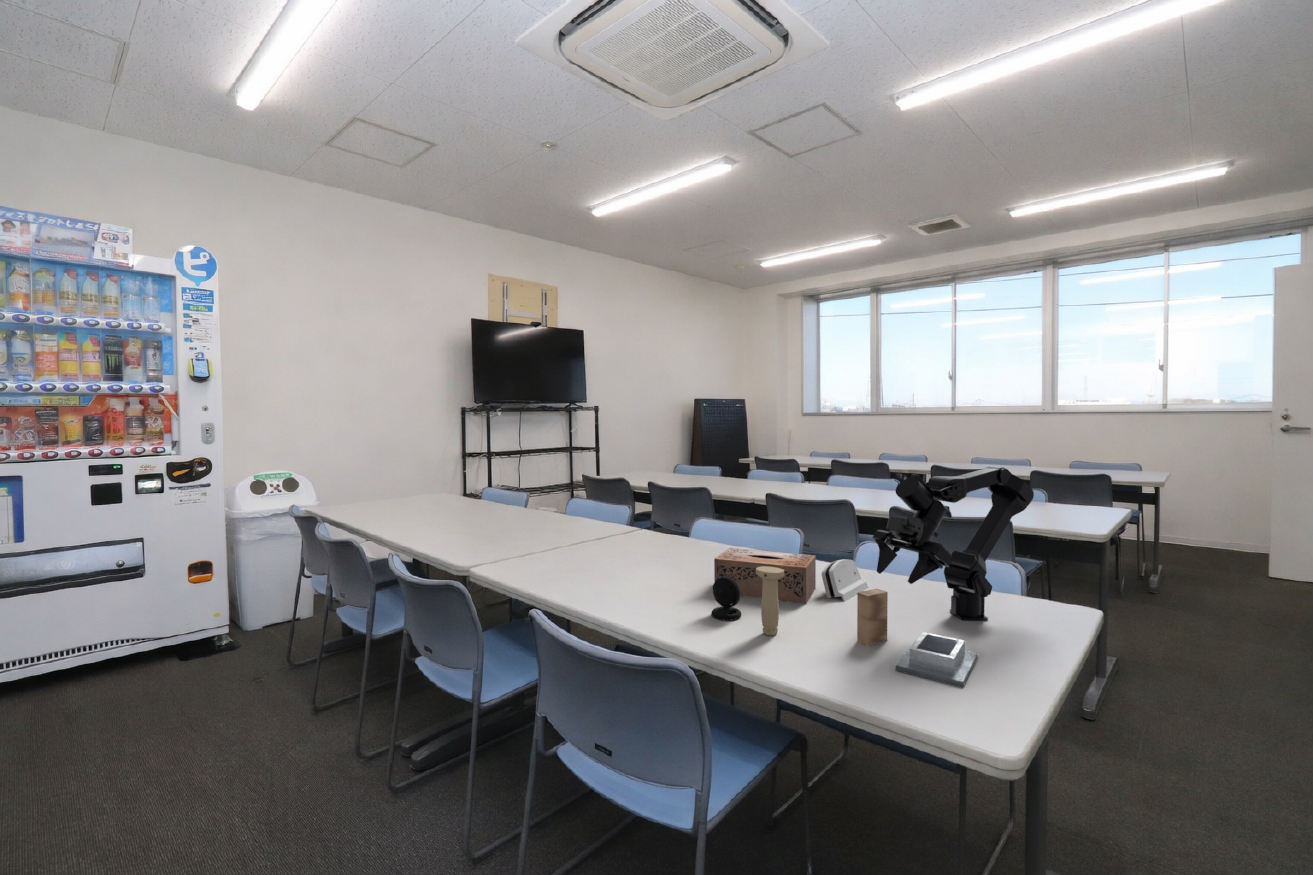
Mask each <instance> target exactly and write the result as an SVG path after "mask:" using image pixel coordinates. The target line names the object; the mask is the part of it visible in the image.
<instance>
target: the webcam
mask: <svg viewBox="0 0 1313 875" xmlns="http://www.w3.org/2000/svg"><path fill="white" fill-rule="evenodd" d="M712 594H713V597H714V599H715V601H716V602H717V603H718V605H720V606H718V607H714V608H713V609H712V610H711V616H712V618H714V619H716V620H720V621H727V622H728V621H735V620H739V619H740V618H741V617H742V612H741V610H740V609H738V608H736V607H734V606H736V605H737V604H738V603H739V601H740V599H741V596H740V589H739V586H738V584H737V583H736V582H735V580H733V579H732V578H730V577H727V576H723V577H719V578H718V579H717V580H716V581H715V580H714V582H713V585H712ZM729 613H731V614H729Z"/></svg>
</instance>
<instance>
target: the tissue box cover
mask: <svg viewBox="0 0 1313 875" xmlns="http://www.w3.org/2000/svg"><path fill="white" fill-rule="evenodd" d="M816 559H817V556H816V555H815V554H814V555H811V554H803V553H791V552H780V551H768V550H758V549H757V550H756V549H747V548H735V547H729V548H728V549H726V550H724V551H723V552H722V553H720V554H719V555H718V556H716V557H715V558H714V559H713V560H714V564H713V565H714V566H713V567H714V571H713V572H714V577H713V578H714V582H715V581H716V580H717V579H718V578H719V577H723V576H727V577H730V578H732V579H733V580H735V582H736V583H737V584H738V586H739V589H740V597H749V598H758V599H762V588H763V581H762V578H761V577H759V576H758V575H757V574H756V568H757V567H761V566H767V567H776V568H780V569H783V570H784V576H783V577H782V578H780V579H778V583H777V587H778V602H779V601H780V602H787V601H789V603H794V604H795V603H797V604H803V605H804V604H806V605H807V603H808V602H809V600H810V599H811V597H812V595H813V594H814V593H815V591H814V590H816V583H817V582H816V580H817V579H816V576H817V575H816V572H817V571H816V570H817V569H816Z"/></svg>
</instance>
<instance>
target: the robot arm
mask: <svg viewBox="0 0 1313 875" xmlns="http://www.w3.org/2000/svg"><path fill="white" fill-rule="evenodd" d="M985 488H987V489H988V490H989V491H990V493H991V496H990V497H991V504H992V506H991V508H990V510H989V511H988V513H987V514H986V516H985V518H984V520H982V522H981V523H980V525H979V527H978V529H977V530H976V532H975V533H974V535H973V536H972V539H971V540H970V542H969V543H968V545H967V546H966V548H965V549H964V550H963V551H958V550H954V551H952V553H951V552H949V550H948V549H947V548H946V547H945V546H944V545H943V544H942V543H938V542H934V541H932V538H934V539H936V538H938V536H939V534H938V533H937V529H938V528H939V526H940V524H941V523H942V520H943V519H944V518H946V519H952V518H953V515H952V512H951V509H950V506H948V505H945V504H943V503H942V502H946V503H953V504H955V503H958V502H959V501H961V500H963V499H965V498H966V497H967V494H969V493H970V492H974V491H977V490H981V489H985ZM895 494H896V496H897V497H898V498H899V499H900V500H901V501H903V503H904V504H905V505H906V506H907V507H908V509H910V510H911V511H913V512H915V513H914V515H913V516H908V517H907V518H902V517H897V516H893V515H889V516H888V520H887V523H886V524H887V525H886V530H884V529H878V530H875V532H874V534H873V536H872V539H873V540H874V542H875V544H877V546H878V549H879V550H878V559H877V565H876V572H877V573H878V574H879V575H881V574H882V573H883V572H884V571H885V570H886V569H887V568H888V567H889V565H891V563H892V562H893V561H894V560H895V558H896V557H898V554H897V553H898V552H900V550H901V549H902V550H906V551H911V552H915V553H918V554H917V556H918V559H917V562H916V563H915V565H914V567H913V569H912V570H911V573H910V575H909V577H908V578H907V579H908V580H907V582H908V584H910V585H912V584H914V583H916V582H917V581H919V580H921V579H923V578H924V577H925V576H927V575H929V574H931V573H933V572H934V571H936V570H938V569H939V570H940V569H943V568H944V569H943V574H944V578H945V582H946V586H947V589H952V595H950V596H951V597H950V608H949V612H950V613H952V614H953V615H954V616H955V617H957V618H958V619H960V620H963V621H988V620H989V619H988V618H989V617H988V616H986V615H985V602H986V600H985V599H986V598H987V597H988V596H990V595H991V593H992V591H993V590H992V589H993V585H992V584H991V583H990V581H989V580H988V579H987V578H986V576H987V573H988V572H987V564H986V561H987V559H988V557H989V556H990V554H991V552H992V551H993V549H994V548H995V546H996V544H997V542H998V541H999V539H1000V537H1001V536H1002V535H1003V533H1004V531H1005V529H1006V528H1007V526H1008V524H1009V522H1010V521H1011V519H1012V518H1013V517H1014V516H1016V515H1019V513H1021V512H1023V511H1026V508H1028V507H1029V505H1030V504H1031V503H1032V502H1033V500H1034V496H1035V495H1034V494H1035V493H1034V490H1033V488H1031V485H1030V484H1029V483H1027V481H1025V480H1024V479H1022V478H1020V477H1018V476H1016V475H1015V474H1013V473H1012V472H1011V471H1010V470H1009V469H1008V468H1005V467H1003V466H991V465H989V466H987V467H986V466H985V467H984V468H981V469H978V470H974V471H970V472H967V473H963V474H960V475H957V476H949V475H947V476H946V475H945V476H944V475H943V476H941V475H940V476H939V475H938V476H935V475H934V476H932V477H930V478H929V479H928V481H926V482H925V481H924V480H923V478H922V477H921V476H920V474H911V475H910V477H908V478H906V479H903V480H902V481H901V482H899V483H898V484H897V485H896V487H895ZM888 530H889V531H888ZM891 530H892V531H893V532H895V534H893V533H892V532H891ZM896 535H897V536H896ZM899 537H900V538H899Z"/></svg>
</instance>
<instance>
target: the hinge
mask: <svg viewBox="0 0 1313 875" xmlns="http://www.w3.org/2000/svg"><path fill="white" fill-rule="evenodd" d="M821 578H822V582H823V586H824V591H825V594H826V598H827V597H828V599H831V598H833V597H834V598H839V597H841V599H842V601H843V602H846V601H848V600H850V599H852V598H853V597H854V595H855V596H857V592H862V591H865V590H866V589H868V588H869V586H868V584H867V581H866V580H864V579H862V576H861V573H860V572H859V569H858V567H857V564H856V562H855V560H852V559H847V558H846V559H845V558H844V559H839V560H834V561H832V562H829V563H828V564H826V566H825V567H824V568H823V570H822V572H821ZM864 589H865V590H864Z"/></svg>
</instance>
